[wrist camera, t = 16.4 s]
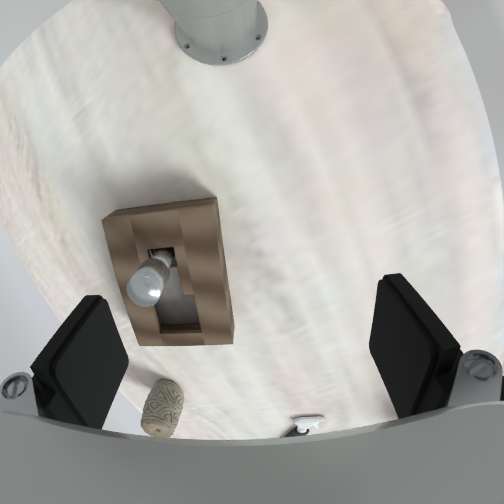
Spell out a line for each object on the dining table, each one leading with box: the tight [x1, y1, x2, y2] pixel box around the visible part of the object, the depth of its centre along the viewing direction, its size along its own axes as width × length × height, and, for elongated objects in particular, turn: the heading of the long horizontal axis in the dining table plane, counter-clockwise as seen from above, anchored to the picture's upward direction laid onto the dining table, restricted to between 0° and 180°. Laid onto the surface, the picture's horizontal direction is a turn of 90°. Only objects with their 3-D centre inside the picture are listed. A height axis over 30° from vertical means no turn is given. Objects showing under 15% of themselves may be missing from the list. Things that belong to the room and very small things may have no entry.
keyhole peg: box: [126, 247, 177, 307], centre depth 39 cm, size 6×6×14 cm
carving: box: [141, 380, 184, 438], centre depth 52 cm, size 6×8×12 cm
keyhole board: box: [102, 197, 234, 346], centre depth 45 cm, size 22×16×5 cm
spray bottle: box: [286, 416, 326, 437], centre depth 66 cm, size 3×11×25 cm
